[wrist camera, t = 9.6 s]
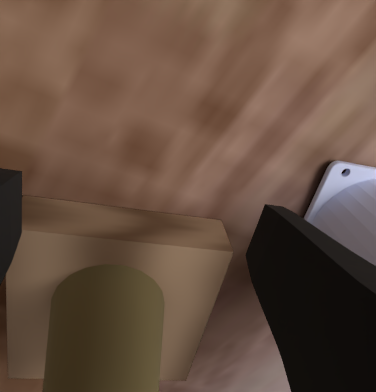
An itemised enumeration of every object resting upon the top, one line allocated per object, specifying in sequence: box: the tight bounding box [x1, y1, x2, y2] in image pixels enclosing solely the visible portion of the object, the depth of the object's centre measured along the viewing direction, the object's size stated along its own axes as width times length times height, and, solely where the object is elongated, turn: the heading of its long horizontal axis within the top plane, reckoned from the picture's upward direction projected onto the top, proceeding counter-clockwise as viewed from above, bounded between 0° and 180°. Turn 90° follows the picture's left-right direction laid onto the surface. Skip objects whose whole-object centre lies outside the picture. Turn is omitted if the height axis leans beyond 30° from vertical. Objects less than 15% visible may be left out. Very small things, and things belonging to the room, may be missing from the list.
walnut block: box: [6, 195, 234, 381], centre depth 20 cm, size 11×11×3 cm
